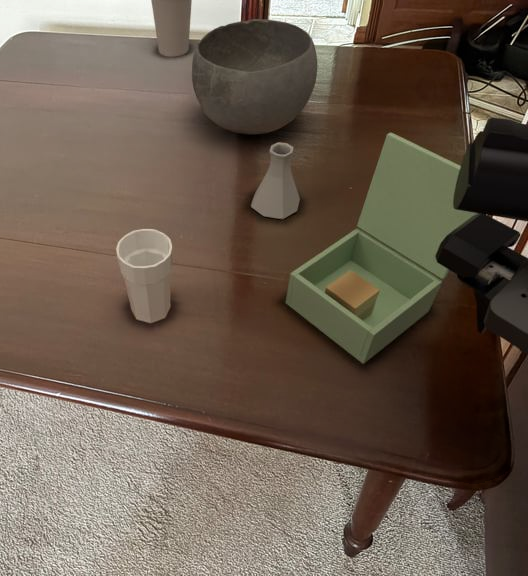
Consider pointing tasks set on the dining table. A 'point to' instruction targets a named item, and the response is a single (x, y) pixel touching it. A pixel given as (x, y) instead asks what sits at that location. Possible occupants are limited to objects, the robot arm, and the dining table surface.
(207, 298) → the dining table surface
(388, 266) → the file box
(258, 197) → the flask
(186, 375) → the dining table surface
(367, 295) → the block
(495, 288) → the robot arm
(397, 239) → the lid
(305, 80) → the bowl
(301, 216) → the dining table surface
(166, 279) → the cup
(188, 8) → the coffee cup
